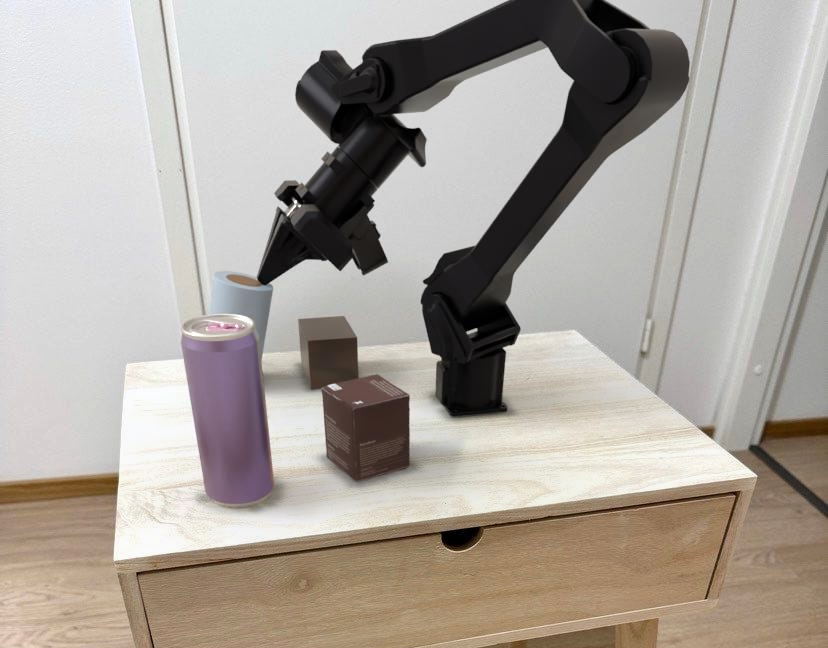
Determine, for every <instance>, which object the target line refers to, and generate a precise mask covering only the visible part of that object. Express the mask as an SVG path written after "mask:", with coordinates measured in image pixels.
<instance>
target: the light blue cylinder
mask: <svg viewBox="0 0 828 648" xmlns="http://www.w3.org/2000/svg"><path fill="white" fill-rule="evenodd" d="M211 283H212V284H211V292H210V299H209V308H208V315H210V314H237V315H242V316H246V317H249V318H251V319H252V320H253V321H254V322H255V329H256V331H257V333H258V335H259V342H260V351H261V361H262V360H263V355H264V349H265V342H266V336H267V330H268V324H269V317H270V312H271V305H272V299H273V292H274V286H273V284H271V282H270V283H269V284H267V285H262V284H261V283H260V282H259V281H258V280H257V276H254V275H251V274H247V273H243V272H239V271H231V270H220V271H215V272H214V273H213V276H212V282H211ZM262 362H263V361H262Z"/></svg>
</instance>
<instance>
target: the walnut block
mask: <svg viewBox="0 0 828 648" xmlns="http://www.w3.org/2000/svg"><path fill="white" fill-rule="evenodd" d="M297 322H298V323H297V324H298V336H299V337H298V339H299V350H300V364H301V367H302V370H303V373H304V375H305V378H306V380H307V383H308V385H309V389H310V390H319V389H321V388H322V387H324V386H328V385H331V384H335V383H340V382H344V381H349V380H353V379H358V378H359V354H358V353H359V350H358V349H359V348H358V347H359V346H358V336H357V335H356V333H355V331H354V329H353V328H352V326H351V325H350V323H349V321H348V320H347V318H346V316H345V315H336V316H322V317H308V318H307V317H306V318H298V319H297Z"/></svg>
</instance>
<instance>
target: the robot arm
mask: <svg viewBox="0 0 828 648" xmlns="http://www.w3.org/2000/svg"><path fill="white" fill-rule="evenodd" d="M544 49H548V50H549V52H550V54H551V55H552V57H553V58H554V60H555V62H556V63H557V66H558V67H559V68H560V70H561V71H562V72H563V73H564V74H566V75H567V76H568V77H569V78H570V79H571V80H572V83H571V85H570V88H568V92H567V98H566V101H565V102H566V103H565V106H564V107H565V108H564V112H563V118H562V121H561V124H560V126H559V129H558V130H557V132H556V133H555V135H554V136H553V137H552V138H551V140H550V141H549V142H548V144H547V145H546V147H545V148H544V150H543V151H542V153H541V154H540V155H539V157H538V158H537V160H535V162H534V163H533V165H532V166H531V168H530V169H529V170H528V172H527V173H526V175H524V178H523V179H522V181H521V182H519V184H518V186H517V187H516V189H515V190H514V192H513V193H512V194H511V196H510V197H509V198H508V200H507V201H506V202H505V204H504V205H503V206H502V208H501V209H500V211H499V212H498V214H497V215H496V217H495V218H494V219H493V221H492V222H491V223H490V225H489V226H488V228H487V229H486V231H485V232H484V233H483V234H482V235H481V237H480V239H479V240H478V241H477V243H476V244H475V245H471V246H467V247H464V248H460V249H456V250H452V251H448V252H444V253H443V254H442V255H441V256H440V258H439V259H438V261H437V263H436V265H435V267H434V269H433V271H432V273H431V274H430V275H429V276H428V277H426V278H424V279H422V283H423V285H426V287H424V289H423V291H422V293H421V295H420V304H421V311H422V312H421V313H422V317H423V322H424V325H425V326H424V327H425V331H426V334H427V338H428V344H429V349H430V352H431V354H433V355H435V356H438V357H439V358H440V360H437V361H436V362H435V363H436V365H435V366H436V367H435V393H434V394H435V395H434V396H435V397H436V399H437V400H438V402H439V403H440V405H441V406H442V407H443V408H444V409H445V411H446V412H447V414H448V415H449V416H450V417H455V418H456V417H465V416H474V415H485V414H486V415H487V414H496V413H506V412H507V411H508V405H507V404H506V403H505V402H504V401H503V393H504V383H505V370H506V358H507V350H505V349H504V348H506V347H509V346H510V347H511V346H514V345H515V344H516V342H517V340H518V338H519V335H520V333H521V326H520V324H519V322H518V321H517V319H516V318H515V316H514V314H513V313H512V311H511V309H510V307H509V306H508V304H507V301H508V300H509V298H510V295H511V294H512V286H513V282H514V275H515V274H516V272H517V270H518V269H519V268H520V266H521V265H522V264H523V263H524V262H525V260H526V259H527V258H528V256H529V255H530V254H531V253H532V252H533V250H534V249H535V248H536V247H537V246H538V244H539V243H540V242H541V240H542V239H543V238H544V237H545V235H546V234H547V233H548V232H549V230H550V229H551V228H552V227H553V226H554V224H555V223H556V222H557V221H558V220H559V218H560V217H561V216H562V215H563V213H564V212H565V211H566V209H567V208H568V207H569V206H570V205H571V203H572V202H573V201H574V199H575V198H576V197H577V196H578V195H579V193H580V192H581V191H582V190H583V188H584V187H585V186H586V185H587V183H588V182H589V181H590V180H591V178H592V177H593V176H594V175H595V174H596V173H597V171H598V170H599V169H600V167H601V166H602V165H603V164H604V163H605V161H606V160H607V159H608V158H609V157H610V156H611V155H613V154H614V153H616V152H617V151H618V150H620V149H621V148H623V147H624V146H625V145H627V144H628V143H630V142H631V141H633V140H634V139H636V138H638V136H640V135H642V134H643V133H645V132H646V131H647V130H648V129H650V127H652V126H653V125H654V124H655V123H656V122H658V120H660V119H661V118H662V117H663V116H664V115H666V114H667V112H669V111H670V110H671V109H672V108H673V107H674V106H675V105H676V104H677V103H678V102H679V101H680V100H681V99H682V97H683V95H684V93H685V92H686V91H687V87H688V85H689V82H690V65H691V61H690V57H689V51H688V48H687V46H686V44H685V43H684V41H683V38H681V37H680V36H679V35H677V34H676V33H675V32H673V31H670V30H666V29H658V28H657V29H656V28H649V26H647V24H645V23H644V22H642V21H641V20H640V19H638V18H636V17H634V16H633V15H632V14H630V13H628V12H626V11H625V10H622V9H621V8H620V7H617V6H616V5H614V4H612V3H611V2H609V1H608V0H506V1H503V2H502V3H500V4H498V5H494V6H493V7H491V8H489V9H487V10H484V11H483V12H480V13H478V14H476V15H474V16H471V17H469V18H468V19H465V20H464V21H461V22H459V23H456V24H455V25H453V26H450V27H448V28H446V29H444V30H442V31H439V32H437V33H435V34H433V35H427V36H423V37H414V38H413V37H412V38H404V39H397V40H396V39H395V40H391V41H386V42H379V43H375V44H371V45H370V46H369V47H368V48H366V49H365V51H364V52H363V54H362V56H361V60H362V62H361V63H359V64H358V65H357V66H355V67H354V68H353V67H352V66H350V64H349V63H348V62H347V61H346V59H345V58H344V57H343V55H342V54H341V53H340V52H339V51H338V50H337V49H331V50H329V49H323V50H321V51H320V54H319V57H318V61H316V62H314V63H313V64H312V65H310V66H309V67H308V68H307V69H306V70H305V72H304V73H303V75H302V76H301V78H300V80H298V81H297V83H296V87H295V94H294V95H295V96H294V97H295V102H296V105H297V107H298V109H300V111H301V112H302V113H303V114H304V115H306V117H307V118H308V119H309V120H310V121H311V122H312V123H313V124H314V125H316V126H315V127H317V128H318V129H319V130H320V131H321V132H322V133H323V134H324V136H325V137H327V138H328V139H329V140H330V142H332V143H334V144H335V145H337V146H336V147H335V148H334V149H333V151H332V152H331V153H330V152H329V151H326V152H325V154H324V155H323V156H322V157H321V161H322V162H323V163H322V164H321V165H320V167H319V168H318V169H317V170H316V171H315V173H313V175H312V176H311V177H310V178H309V179H308V180H307V182H306V183H305V184H304V183H303V182H300V183H299V182H298V180H291V179H290V180H284V181H283V182H282V183H281V185H279V187H278V188H277V189H276V190H275V192H274V193H273V195H274V196H275V198H276V199H277V200H278V201H280V202H282V203H283V204H284V205H285V206H286V207H287V208H286V209H285V210H283V209H282V208H281V207H280V206H277V207H276V209H275V214H274V218H273V222H272V225H271V228H270V232H269V235H268V238H267V242H266V244H265V249H264V252H263V255H262V258H261V261H260V264H259V268H258V272H257V274H256V277H257V280H258V281H259V282H260V283H261V284H262V285H267V284H269V283H270V284H271V283H272V282H273V281H275V280H276V279H278V278H279V277H281V276H282V275H284V274H285V273H287V272H288V271H290V270H292V269H293V268H294V267H296V266H298V265H299V264H301V263H302V262H304V261H306V260H307V261H308V260H311V261H321V262H327V261H329V263H331V265H332V266H334V268H335V269H336V270H338V271H339V272H342V270H344V268H345V267H346V266H347V265H348V264H349V262H350V261H351V260H352V261H353V263H354V265H355V266H356V268H357V270H360V271H361V274H362V276H366V275H368V274H369V273H372V272H374V271H375V270H377V269H379V268H381V267H383V266H384V265H386V264H388V263H389V260H388V257H387V255H386V253H385V251H384V248H383V246H382V244H381V241H380V238H381V236H382V235H381V233H380V231H379V230H378V228H377V224H376V222H374V220H371V219H370V217H369V216H368V214H369V213H370V212H371V211H372V209H373V208H374V207H375V202H376V200H375V199H374V198H373V196H374V195H375V193H376V192H377V191H378V190H379V189H380V188H381V186H382V185H383V184H384V183H386V181H387V180H388V179H389V177H390V176H391V175H392V174H393V173H394V172H395V171H396V170H397V168H398V167H399V166H400V165H401V163H403V161H404V160H405V159H406V158H407V157H408V156H409V157H410V159H411V160H412V161H414V162H415V164H417V165H418V166H419V168H424V167H426V166H427V165H426V164H427V158H426V157H427V156H426V144H427V141H428V139H427V137H426V135H425V134H424V132H423V130H422V128H421V127H412V128H411V127H407V126H406V125H405V124H404V123H403V121H401V120H400V119H399V118H398V117H397V116H396V115H401V114H414V113H425V112H428V111H429V110H431V109H432V108H434V107H435V106H436V105H438V104H440V103H441V102H443V101H444V100H445V99H447V98H448V97H449V96H450V95H451V94H452V92H453V91H454V90H455V89H456V87H457V86H459V85H460V84H462V83H463V82H465V81H466V80H469V79H471V78H473V77H476V76H478V75H481V74H484V73H486V72H489V71H491V70H494V69H496V68H499V67H502V66H504V65H506V64H509V63H512V62H514V61H517V60H519V59H522V58H524V57H527V56H530V55H532V54H535V53H537V52H540V51H542V50H544ZM473 330H476V331H473ZM470 331H473V332H471V333H467V332H470Z"/></svg>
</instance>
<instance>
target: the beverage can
mask: <svg viewBox="0 0 828 648" xmlns="http://www.w3.org/2000/svg"><path fill="white" fill-rule="evenodd" d="M180 331H181V338H180V345H181V350H182V351H181V352H182V358H183V363H184V364H183V365H184V370H185V376H186V383H187V387H188V388H187V389H188V395H189V401H190V406H191V412H192V418H193V426H194V430H195V437H196V443H197V449H198V456H199V463H200V468H201V473H202V480H203V486H204V492H205V494H206V495H207V496H208V498H209V499H210V500H211V501H212V502H213V503H215V504H217V505H218V506H221V507H224V508H235V509H239V508H247V507H251V506H254V505H258V504H260V503H262V502H264V501H266V499H267V498H268V497H269V496H270V495H271V493H272V491H273V489H274V487H275V477H274V468H273V457H272V449H271V439H270V438H271V437H270V430H269V420H268V410H267V409H268V408H267V401H266V400H267V399H266V390H265V382H264V381H265V380H264V371H263V364H262V363H263V361H261V351H260V342H259V335H258V333H257V331H256V329H255V322H254V321H253V320H252V319H251V318H249V317H246V316H242V315H237V314H210V315H209V314H204V315H199V316H196V317H192V318H190V319H188V320H186V321H184V322H183V323H182V324H181V326H180Z"/></svg>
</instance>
